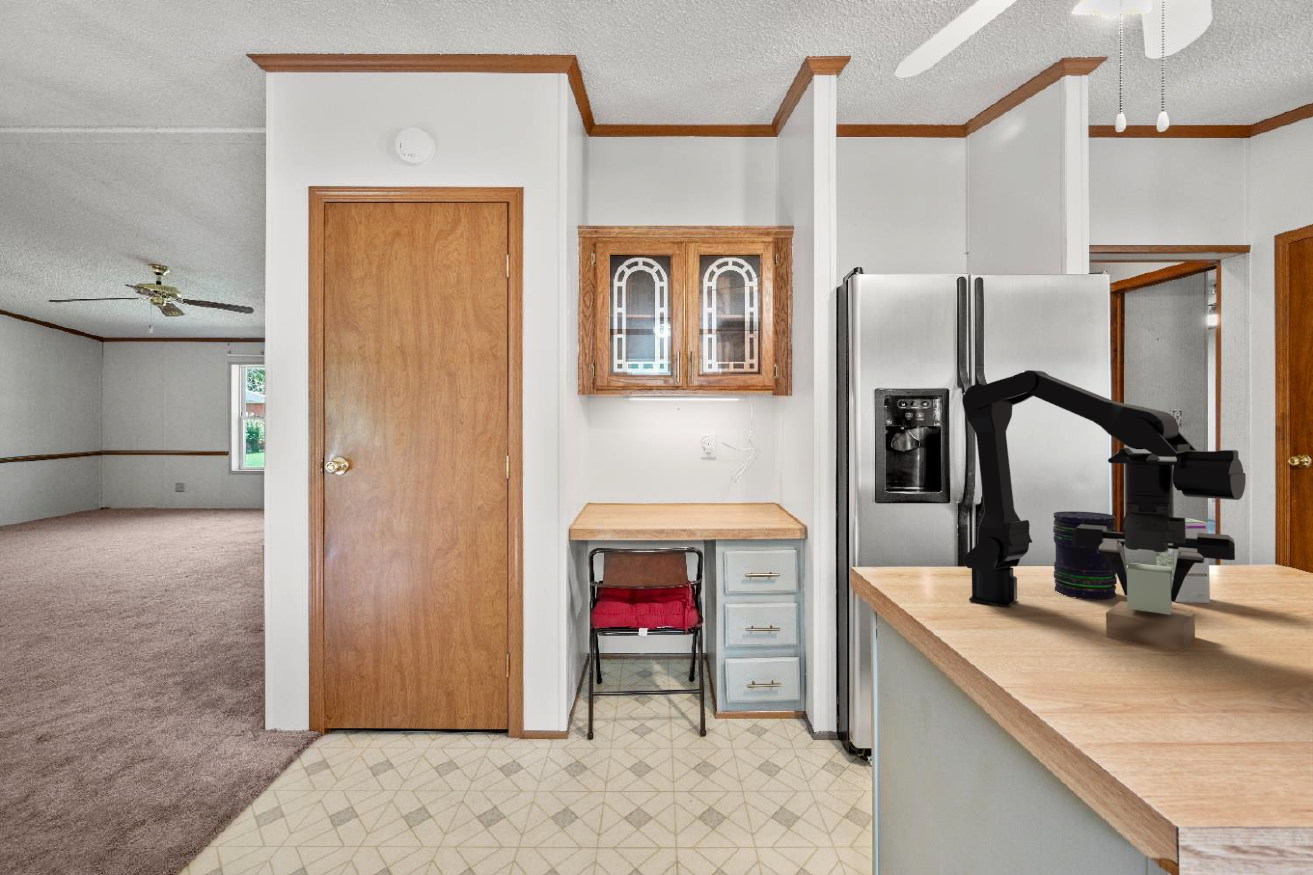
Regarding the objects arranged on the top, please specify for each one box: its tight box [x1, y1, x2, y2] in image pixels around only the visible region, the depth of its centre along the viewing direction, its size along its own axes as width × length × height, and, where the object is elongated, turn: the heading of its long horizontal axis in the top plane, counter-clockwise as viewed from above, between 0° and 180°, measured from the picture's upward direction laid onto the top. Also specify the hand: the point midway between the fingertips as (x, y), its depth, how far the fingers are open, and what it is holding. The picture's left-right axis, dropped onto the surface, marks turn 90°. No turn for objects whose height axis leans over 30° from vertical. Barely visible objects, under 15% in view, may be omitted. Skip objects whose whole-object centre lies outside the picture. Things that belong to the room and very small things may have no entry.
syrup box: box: [1155, 516, 1211, 604], centre depth 113 cm, size 6×6×14 cm
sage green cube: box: [1126, 562, 1173, 615], centre depth 93 cm, size 5×5×6 cm
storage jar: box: [1052, 510, 1118, 601], centre depth 118 cm, size 10×10×15 cm
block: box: [1105, 600, 1196, 653], centre depth 93 cm, size 9×9×4 cm
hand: (1149, 598), depth 93 cm, fingers open, 5 cm apart
